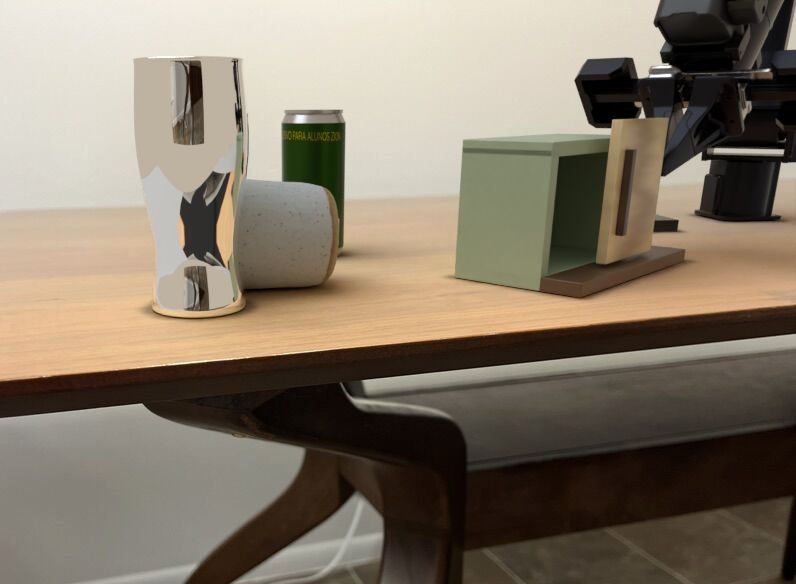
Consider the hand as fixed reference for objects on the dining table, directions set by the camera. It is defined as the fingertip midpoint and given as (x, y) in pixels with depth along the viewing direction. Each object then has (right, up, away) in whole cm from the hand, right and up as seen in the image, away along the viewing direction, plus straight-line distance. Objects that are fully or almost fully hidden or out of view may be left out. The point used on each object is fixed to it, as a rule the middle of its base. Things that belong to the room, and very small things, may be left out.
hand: (658, 172), depth 63 cm
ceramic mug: (-30, -9, -3) cm, 32 cm away
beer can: (-26, -5, +9) cm, 28 cm away
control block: (+5, 0, +22) cm, 23 cm away
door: (-3, -7, -1) cm, 7 cm away
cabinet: (-6, -7, +1) cm, 10 cm away
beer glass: (-34, -11, -10) cm, 38 cm away
